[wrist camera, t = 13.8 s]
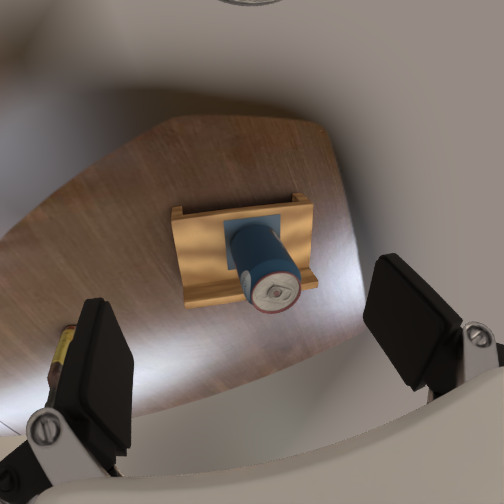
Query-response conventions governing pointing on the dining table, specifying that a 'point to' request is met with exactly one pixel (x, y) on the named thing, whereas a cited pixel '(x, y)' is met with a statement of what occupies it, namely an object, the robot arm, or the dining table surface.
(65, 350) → the sauce bottle
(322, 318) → the dining table surface
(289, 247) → the wooden block with lip
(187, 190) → the dining table surface
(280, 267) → the soda can
